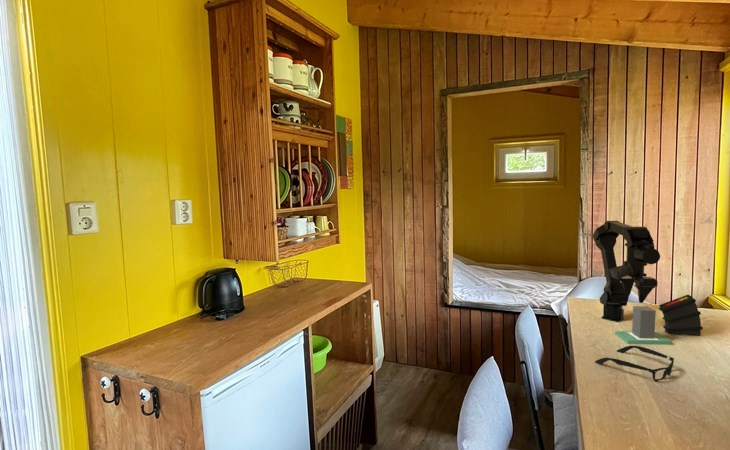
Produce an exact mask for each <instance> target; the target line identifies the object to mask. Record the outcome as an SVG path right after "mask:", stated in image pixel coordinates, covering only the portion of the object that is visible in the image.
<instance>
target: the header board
mask: <svg viewBox="0 0 730 450" xmlns="http://www.w3.org/2000/svg"><path fill="white" fill-rule="evenodd" d="M614 335H615V336H616V337H618V338H619V339H620V340H622V341H623V342H625V343H626V344H628V345H670V346H672V345H673V343H674V342H673V341H672V339H669V337H667V336H664V335H663V334H661V333H660V332H658V331H655V335H654V339H643V338H638V337H637V336H635V335H634V334H632V331H625V330H623V331H621V330H619V331H617V330H615V331H614Z"/></svg>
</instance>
